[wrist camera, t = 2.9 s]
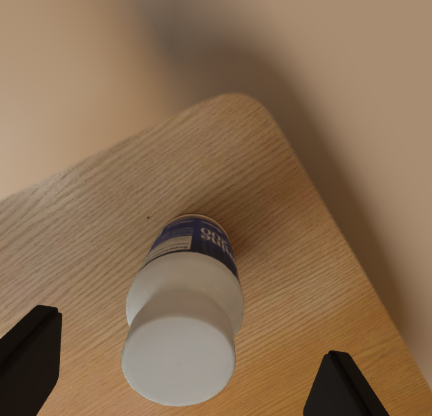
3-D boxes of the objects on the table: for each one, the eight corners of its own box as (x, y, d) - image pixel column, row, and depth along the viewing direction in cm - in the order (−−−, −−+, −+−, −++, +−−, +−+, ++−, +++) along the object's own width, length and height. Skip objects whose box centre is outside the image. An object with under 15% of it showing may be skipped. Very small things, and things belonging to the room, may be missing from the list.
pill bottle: (242, 261, 18) (280, 388, 9) (178, 291, 19) (151, 441, 9) (209, 198, 17) (213, 269, 8) (141, 232, 18) (66, 338, 8)
